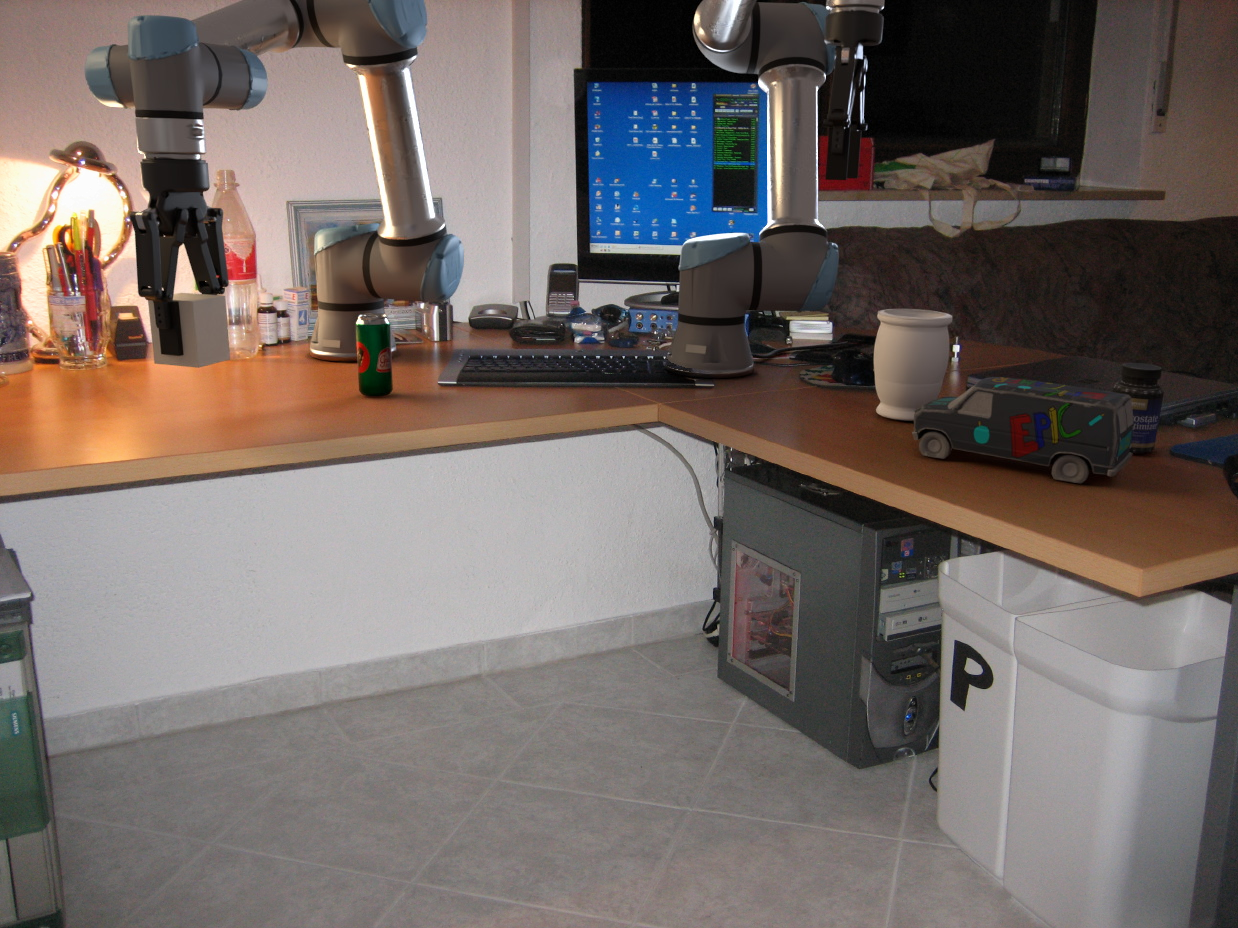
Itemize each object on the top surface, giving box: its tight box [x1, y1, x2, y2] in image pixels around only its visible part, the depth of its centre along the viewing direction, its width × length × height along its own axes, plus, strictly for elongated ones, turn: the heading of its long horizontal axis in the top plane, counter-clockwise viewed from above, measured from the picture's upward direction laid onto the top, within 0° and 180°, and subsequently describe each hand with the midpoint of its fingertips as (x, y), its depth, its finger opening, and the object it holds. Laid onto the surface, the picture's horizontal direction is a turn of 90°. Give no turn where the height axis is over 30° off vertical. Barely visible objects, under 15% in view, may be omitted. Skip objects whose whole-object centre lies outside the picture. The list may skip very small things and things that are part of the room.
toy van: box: [911, 376, 1135, 484], centre depth 132 cm, size 11×25×10 cm, turn 54°
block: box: [147, 292, 231, 369], centre depth 132 cm, size 6×7×8 cm
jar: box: [873, 308, 953, 422], centre depth 154 cm, size 11×10×15 cm
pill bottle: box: [1111, 362, 1165, 455], centre depth 139 cm, size 6×6×11 cm
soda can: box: [356, 313, 394, 398], centre depth 162 cm, size 5×5×12 cm
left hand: (191, 350), depth 133 cm, fingers closed on block, 6 cm apart
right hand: (842, 179), depth 147 cm, fingers open, 13 cm apart
